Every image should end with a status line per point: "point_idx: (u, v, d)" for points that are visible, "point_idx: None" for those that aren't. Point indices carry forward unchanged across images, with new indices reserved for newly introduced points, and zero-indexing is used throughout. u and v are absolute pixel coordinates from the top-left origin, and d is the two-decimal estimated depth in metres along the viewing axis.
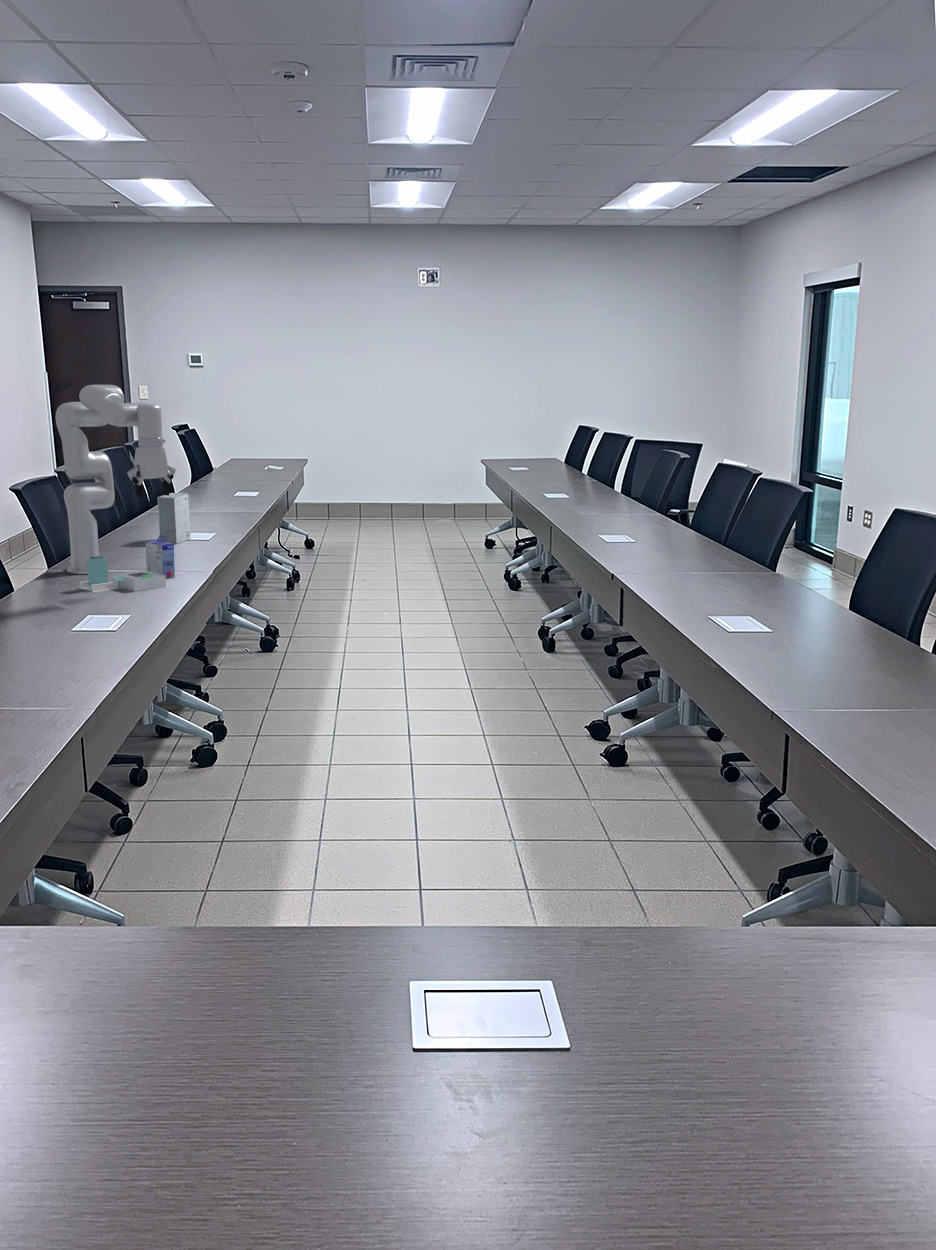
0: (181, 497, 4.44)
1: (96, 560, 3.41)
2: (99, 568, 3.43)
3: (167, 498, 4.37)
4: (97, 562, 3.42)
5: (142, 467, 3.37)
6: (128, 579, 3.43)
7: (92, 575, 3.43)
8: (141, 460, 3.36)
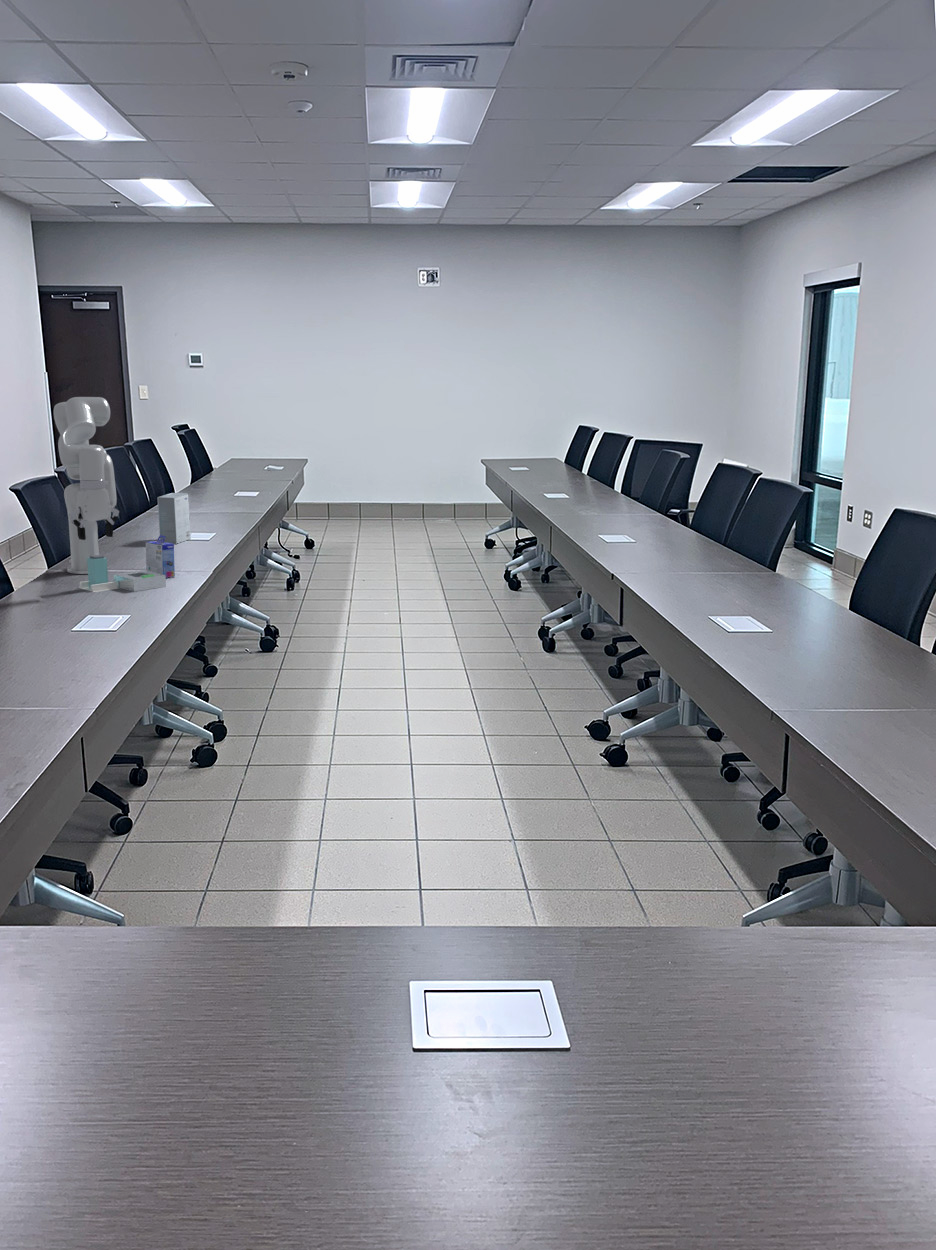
0: (181, 497, 4.44)
1: (96, 560, 3.41)
2: (99, 568, 3.43)
3: (167, 498, 4.37)
4: (97, 562, 3.42)
5: (84, 509, 3.35)
6: (128, 579, 3.43)
7: (92, 575, 3.43)
8: (83, 502, 3.35)
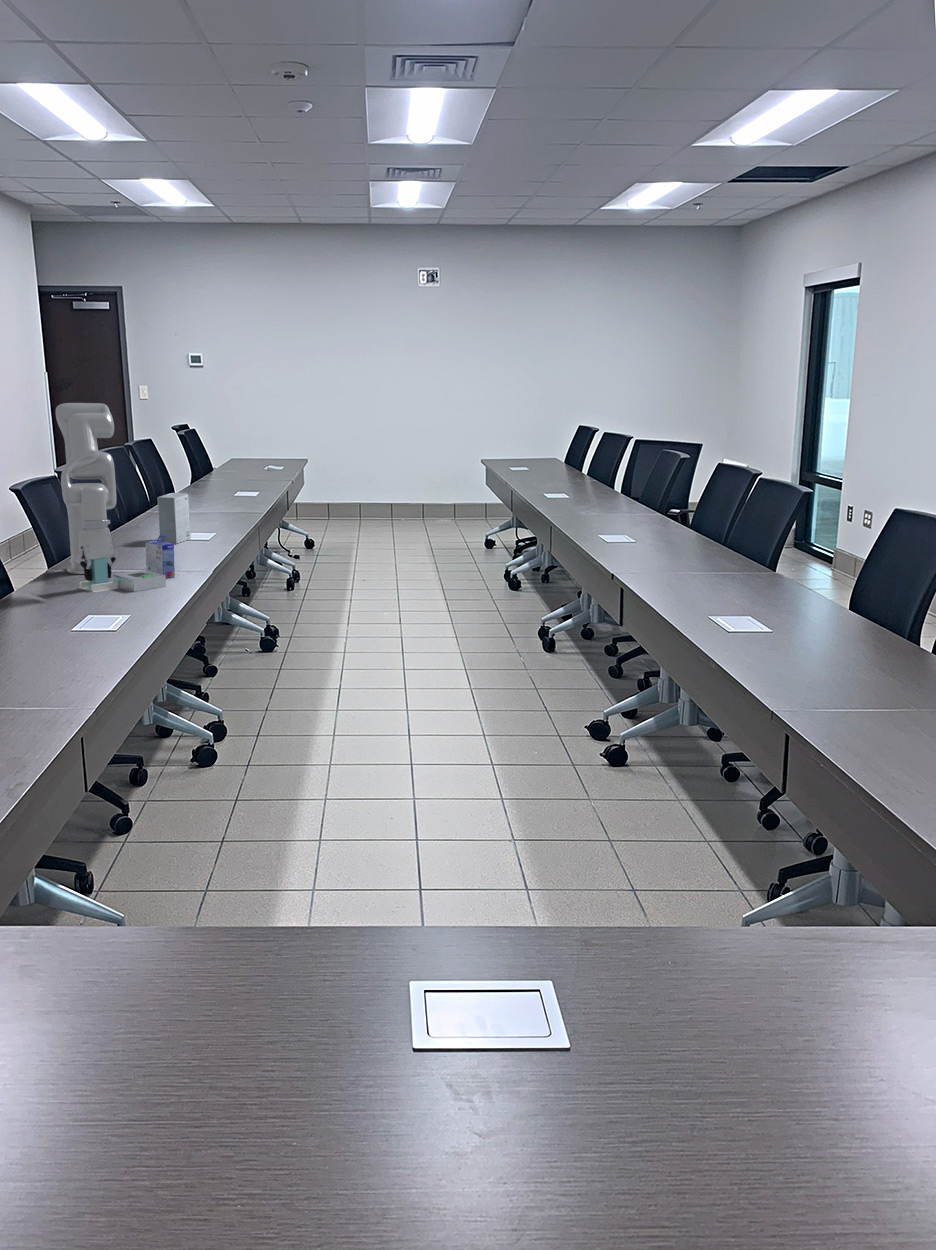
0: (181, 497, 4.44)
1: (96, 560, 3.41)
2: (99, 568, 3.43)
3: (167, 498, 4.37)
4: (97, 562, 3.42)
5: (86, 549, 3.38)
6: (128, 579, 3.43)
7: (92, 575, 3.43)
8: (85, 542, 3.38)
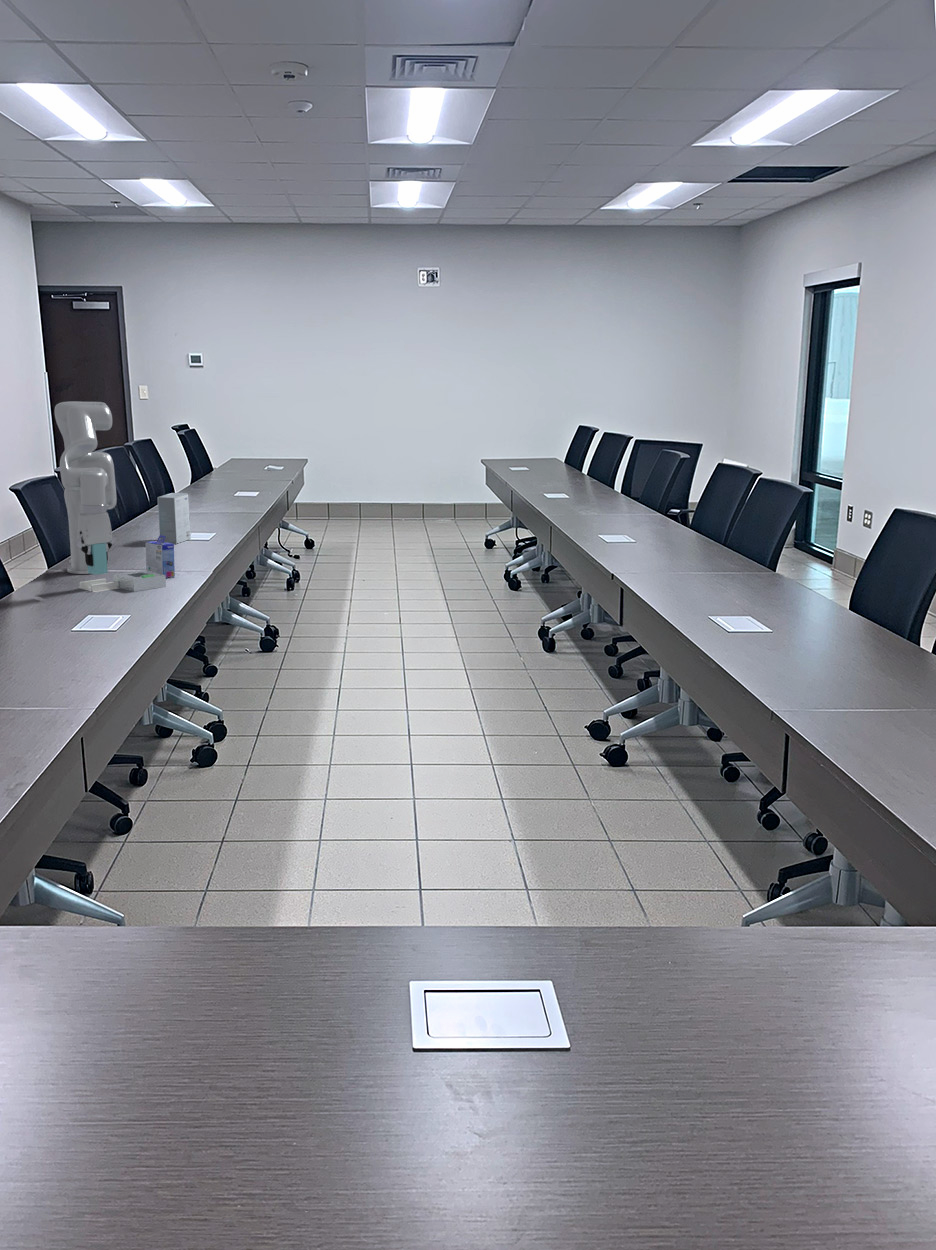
0: (181, 497, 4.44)
1: (95, 545, 3.41)
2: (98, 553, 3.42)
3: (167, 498, 4.37)
4: (96, 547, 3.41)
5: (85, 534, 3.38)
6: (128, 579, 3.43)
7: None
8: (84, 527, 3.37)
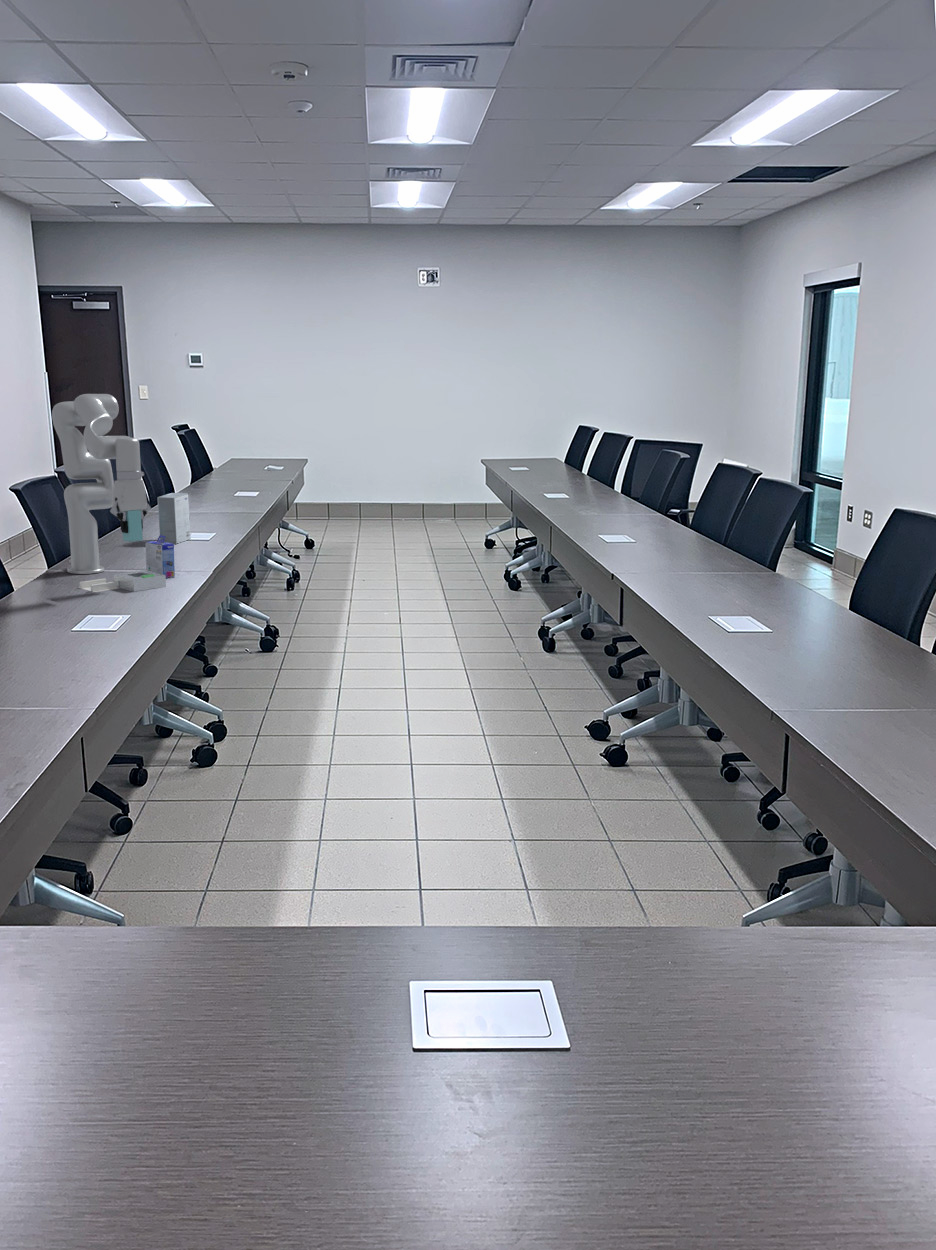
0: (181, 497, 4.44)
1: (130, 511, 3.41)
2: (133, 520, 3.42)
3: (167, 498, 4.37)
4: (131, 513, 3.41)
5: (120, 500, 3.38)
6: (128, 579, 3.43)
7: None
8: (119, 493, 3.38)
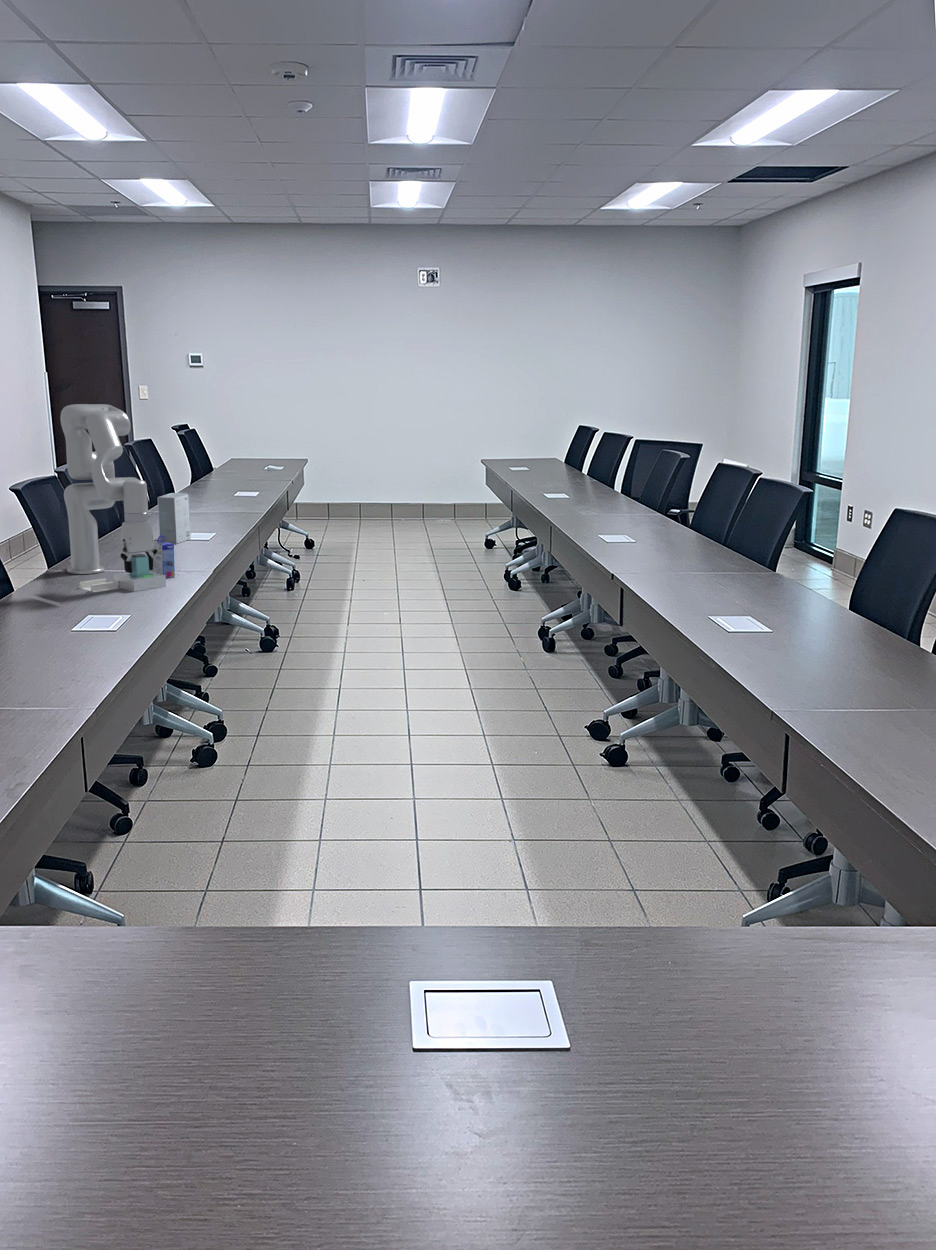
0: (181, 497, 4.44)
1: (138, 558, 3.45)
2: (141, 566, 3.47)
3: (167, 498, 4.37)
4: (139, 560, 3.46)
5: (128, 542, 3.42)
6: (128, 579, 3.43)
7: (134, 573, 3.47)
8: (127, 535, 3.41)
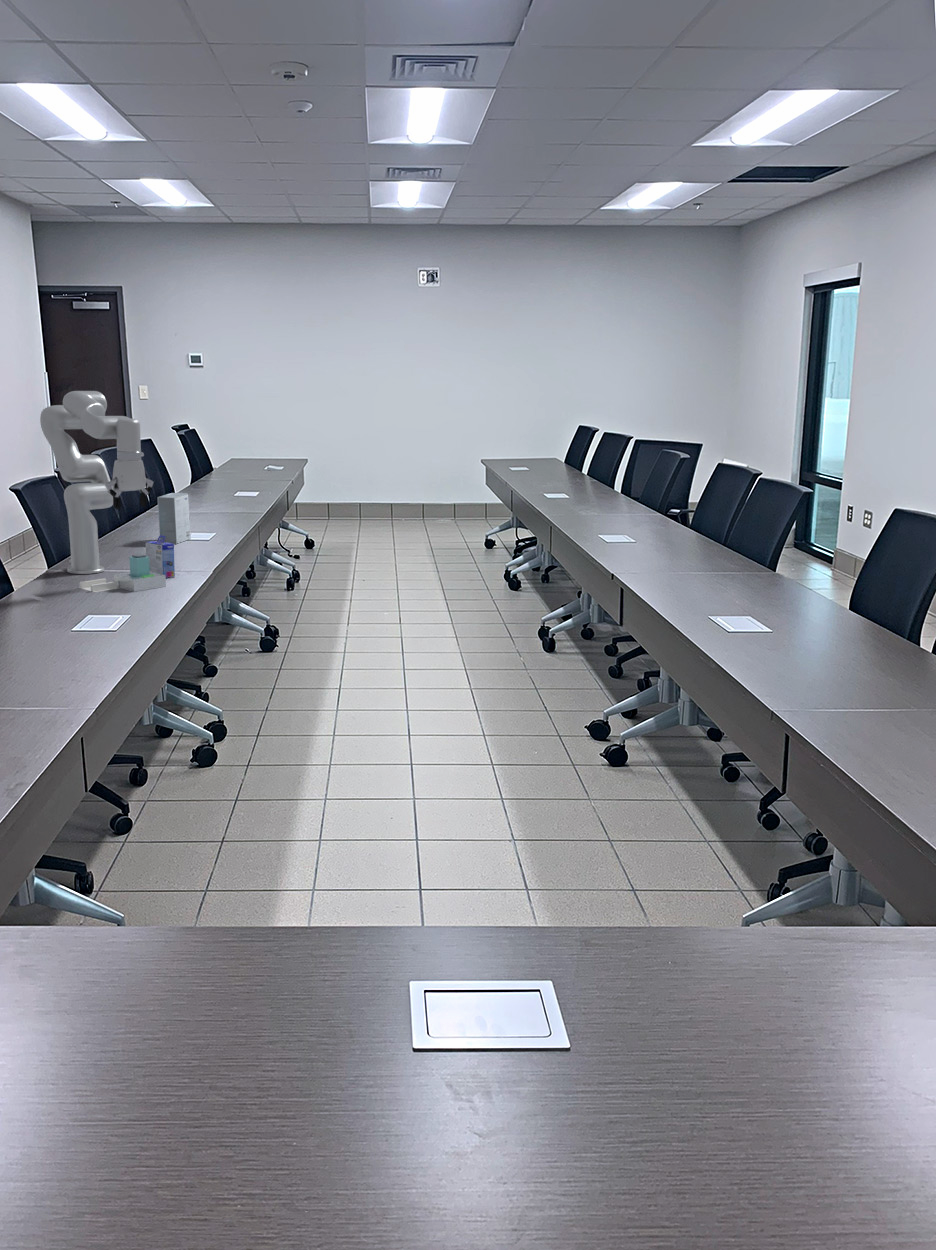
0: (181, 497, 4.44)
1: (139, 559, 3.45)
2: (142, 567, 3.47)
3: (167, 498, 4.37)
4: (139, 561, 3.45)
5: (120, 480, 3.45)
6: (128, 579, 3.43)
7: (134, 574, 3.47)
8: (119, 473, 3.45)
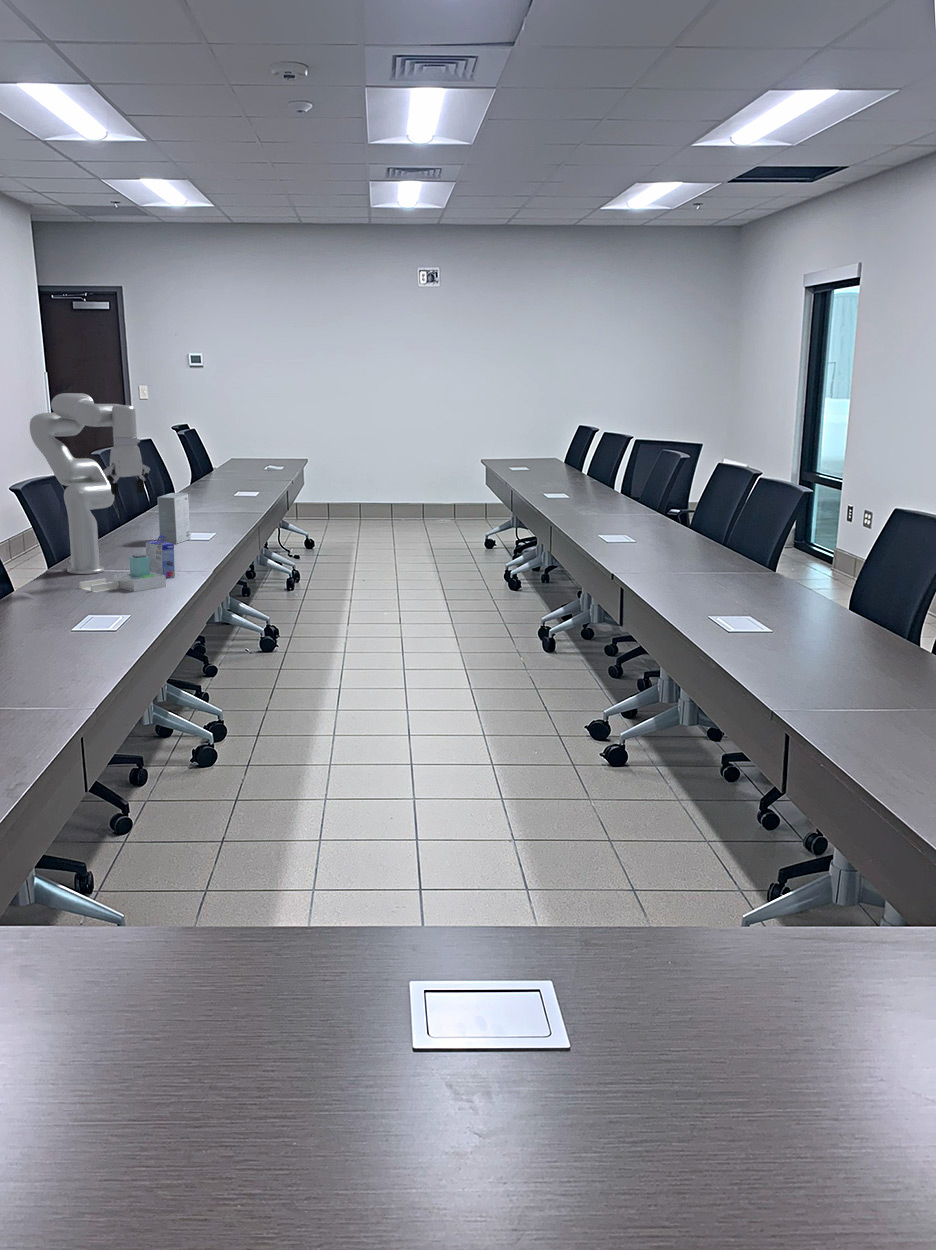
0: (181, 497, 4.44)
1: (139, 559, 3.45)
2: (142, 567, 3.47)
3: (167, 498, 4.37)
4: (139, 561, 3.45)
5: (117, 465, 3.50)
6: (128, 579, 3.43)
7: (134, 574, 3.47)
8: (116, 459, 3.49)
